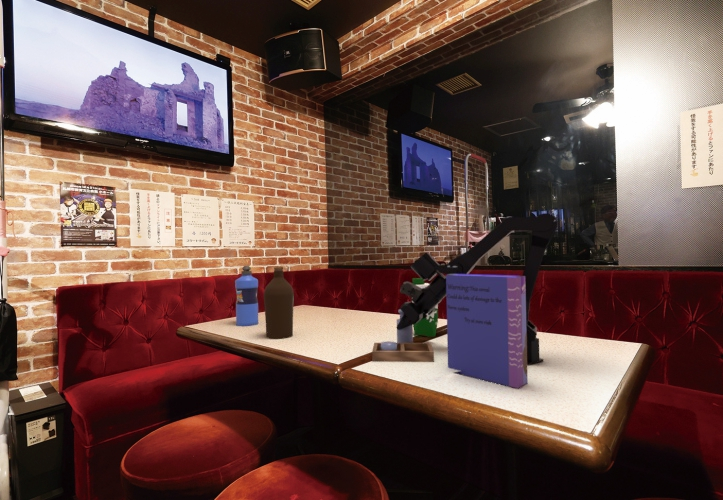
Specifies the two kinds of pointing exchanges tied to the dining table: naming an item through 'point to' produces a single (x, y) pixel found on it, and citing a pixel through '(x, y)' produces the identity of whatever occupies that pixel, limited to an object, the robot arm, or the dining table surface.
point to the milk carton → (428, 323)
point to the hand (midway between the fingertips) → (400, 327)
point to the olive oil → (279, 306)
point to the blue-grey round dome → (388, 346)
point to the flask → (404, 332)
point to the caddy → (404, 353)
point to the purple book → (487, 327)
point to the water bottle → (246, 299)
